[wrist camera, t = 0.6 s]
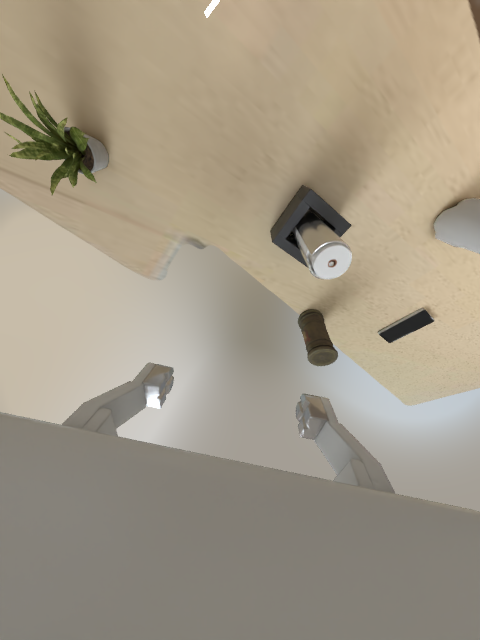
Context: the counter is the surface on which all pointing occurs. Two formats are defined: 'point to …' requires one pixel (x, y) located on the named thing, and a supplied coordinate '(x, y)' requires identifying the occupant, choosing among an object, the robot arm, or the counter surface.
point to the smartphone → (406, 325)
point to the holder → (293, 216)
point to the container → (316, 338)
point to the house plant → (58, 144)
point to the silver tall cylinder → (321, 247)
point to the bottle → (460, 225)
